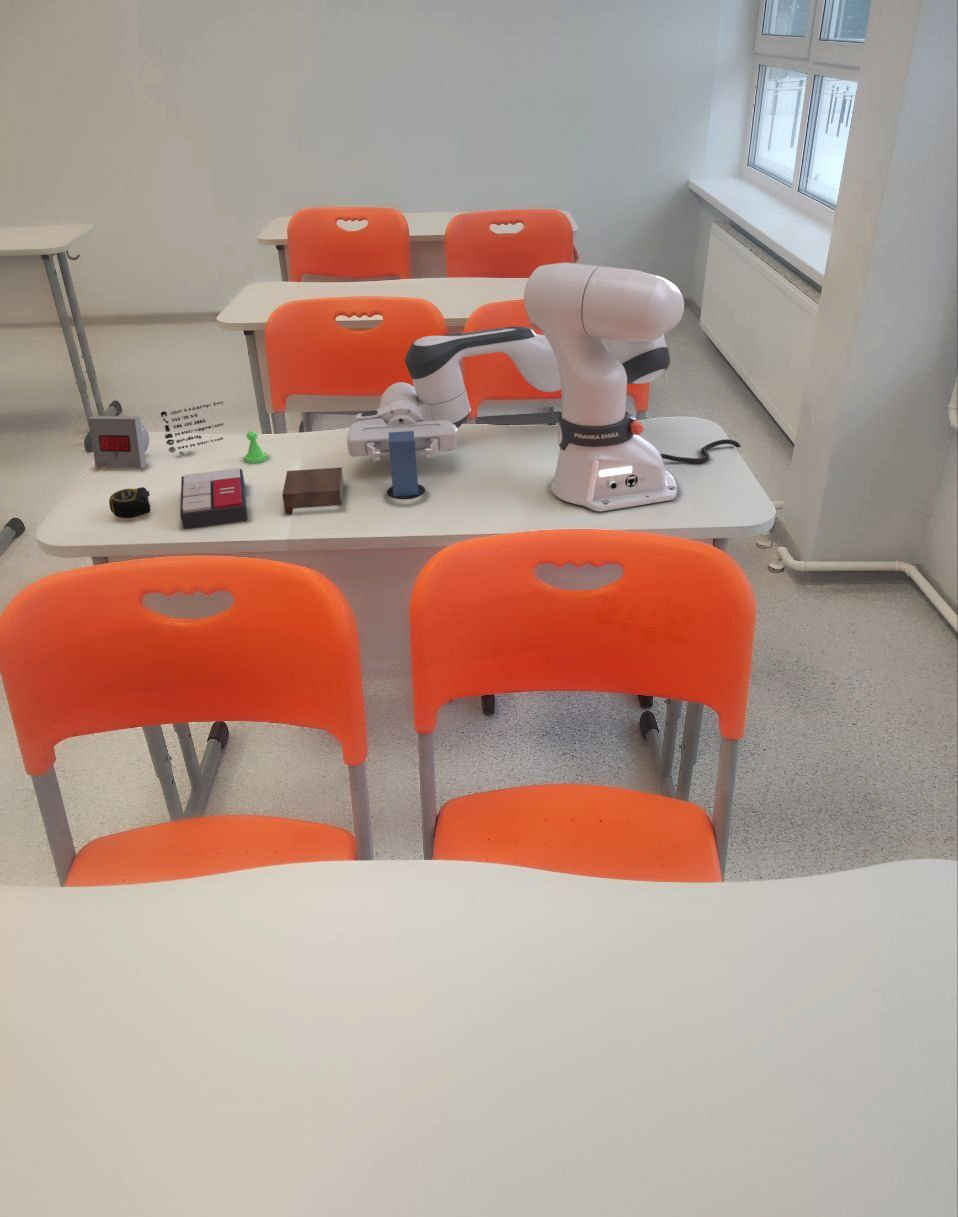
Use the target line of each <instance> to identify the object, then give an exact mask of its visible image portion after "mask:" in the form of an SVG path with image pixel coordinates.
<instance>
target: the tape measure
mask: <svg viewBox="0 0 958 1217" xmlns="http://www.w3.org/2000/svg"><path fill="white" fill-rule="evenodd" d="M150 495H151V494H150V490H147V488H146V487H144V486H141V487H137V488H124V489H120V490H117V491H115V492H113V493H112V494H111V495H110V497H109V500H108V503H109V509H110V511H111V513H112V514H113V515H114V516H115V517H117V518H120V519H133V518H134V519H135V518H137V517H140V516H145V515H148V514H149V513H150V512H151V505H150V500H149V497H150Z"/></svg>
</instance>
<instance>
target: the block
mask: <svg viewBox="0 0 958 1217" xmlns="http://www.w3.org/2000/svg"><path fill="white" fill-rule="evenodd" d="M389 449H390V455H389V459H390V461H389V462H390V471H391V472H390V473H391V482H392V483H391V484H392V486H393V495H394V497H399V496H414V495H419V492H418V484H419V480H418V479H419V478H418V465H417V453H416V450H415V436H414V431H404V432H389Z"/></svg>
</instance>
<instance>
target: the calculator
mask: <svg viewBox="0 0 958 1217" xmlns="http://www.w3.org/2000/svg"><path fill="white" fill-rule="evenodd" d="M180 482H181V483H180V506H179V507H180V508H179V510H180V513H179V514H180V515H179V516H180V520H181V523H182V528H183V529H185V530H188V529H195V528H196V529H197V528H203V527H212V526H219V525H225V524H232V523H241V522H246V521H248V508H247V507H248V506H247V495H246V494H247V492H246V484H245V477H244V472H243V469H242V468H239V467H238V468H237V467H236V468H230V469H221V470H212V471H206V472H205V471H204V472H196V473H189V474H188V473H187V474H184V475H182V476H181V480H180Z"/></svg>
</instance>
